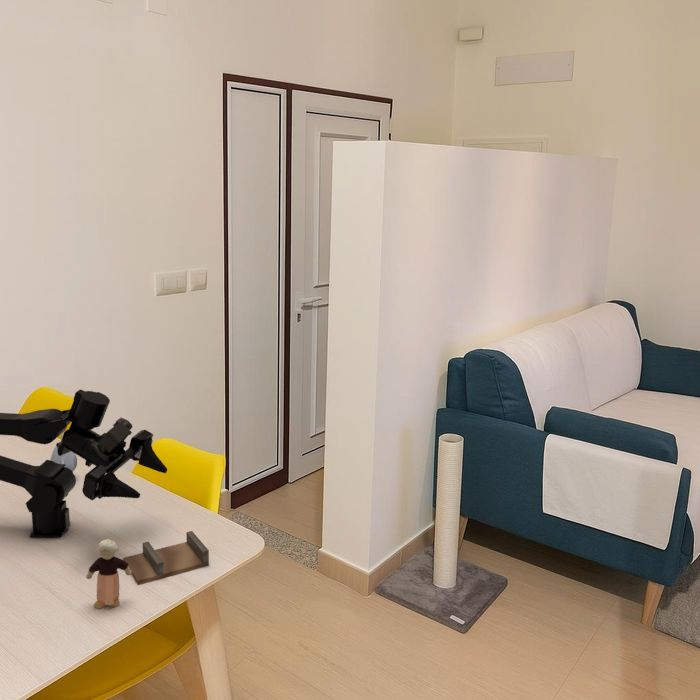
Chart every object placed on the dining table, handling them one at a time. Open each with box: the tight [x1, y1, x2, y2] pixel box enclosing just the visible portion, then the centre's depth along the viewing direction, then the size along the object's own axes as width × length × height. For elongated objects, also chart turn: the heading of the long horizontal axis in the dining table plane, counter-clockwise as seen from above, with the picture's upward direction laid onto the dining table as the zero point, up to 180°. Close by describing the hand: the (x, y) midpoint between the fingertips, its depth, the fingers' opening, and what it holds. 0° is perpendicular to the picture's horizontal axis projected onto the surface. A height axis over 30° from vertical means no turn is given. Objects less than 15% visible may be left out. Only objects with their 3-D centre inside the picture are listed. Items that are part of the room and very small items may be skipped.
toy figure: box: [50, 433, 78, 472], centre depth 178 cm, size 11×6×12 cm, turn 19°
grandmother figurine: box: [85, 538, 132, 609], centre depth 130 cm, size 8×4×13 cm, turn 114°
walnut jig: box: [122, 530, 210, 585], centre depth 145 cm, size 14×10×3 cm
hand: (153, 483), depth 147 cm, fingers open, 9 cm apart
